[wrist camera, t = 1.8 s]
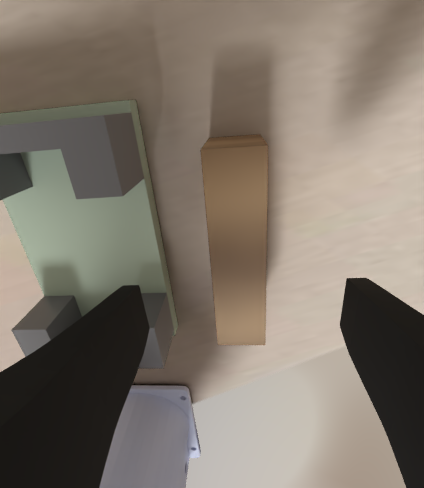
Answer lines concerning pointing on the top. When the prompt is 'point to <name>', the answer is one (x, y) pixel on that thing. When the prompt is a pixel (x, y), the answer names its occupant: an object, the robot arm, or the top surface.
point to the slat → (237, 234)
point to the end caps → (85, 187)
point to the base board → (87, 223)
